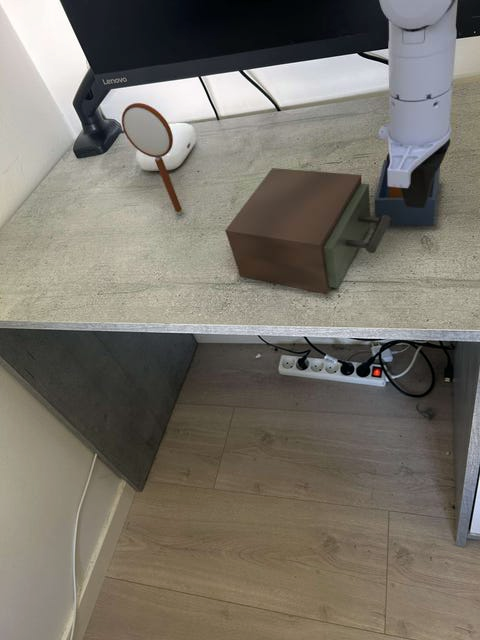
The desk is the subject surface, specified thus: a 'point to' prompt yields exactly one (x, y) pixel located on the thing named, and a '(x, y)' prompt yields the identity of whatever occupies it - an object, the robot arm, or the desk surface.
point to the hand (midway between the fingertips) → (416, 203)
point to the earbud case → (180, 149)
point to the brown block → (395, 192)
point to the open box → (398, 207)
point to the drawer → (352, 235)
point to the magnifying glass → (151, 139)
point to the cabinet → (290, 227)
